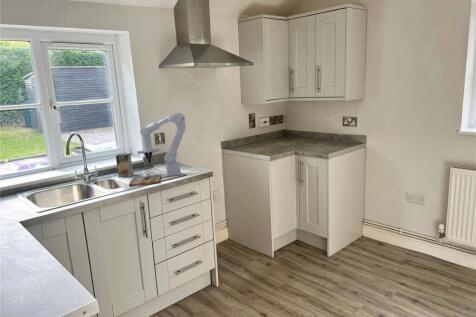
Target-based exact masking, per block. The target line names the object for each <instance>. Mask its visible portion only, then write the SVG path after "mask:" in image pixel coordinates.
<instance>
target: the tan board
mask: <svg viewBox="0 0 476 317" xmlns="http://www.w3.org/2000/svg"><path fill="white" fill-rule="evenodd" d="M149 176H150V178H149V179H147V180H143V179H144V175H138V176H133V177H132V179H131V180H130V181H129V183H128V187H129V186H130V187H137V186H136V185H139V186H145V185H146V186H147V185H155V184H159V183H160V181H161V177H162V174H161V173H159V174H158V173H157V174H149Z"/></svg>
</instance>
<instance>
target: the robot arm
mask: <svg viewBox="0 0 476 317" xmlns="http://www.w3.org/2000/svg"><path fill="white" fill-rule="evenodd" d="M185 120H186V117H185V116H184V114H183V113H181V112H176V113H174V114H172V115H171V114H170V115H168V116H166V117H164V118H162V119H161V120H159V121H151V123H150V124H146V125H145V126H143V127H142V128H141V129H140V130H139V133H140V135H141V138H142V145H143V149H142V150H138V151H137V155H142V154H144V156H145V158H146V159H147V161H148V164H151V163H152V162H151V161H152V156H153V153H160V150H159V148H153V144H152V139H151V138H152V137H151V134H152V133H154V132H155V131H157V130H159V129H160V127H162V126H163V125H165V124H168V123H173V124H174V125H175V126H176V127H177V129H176V131H175V135H174V136H173V139H172V142H171V145H170V148H169V149H168V150H167V153H166V154H165V156H164V157H163V160H164V162H165V166H166V168H165V169H166V177H173V176H179V175H180V176H181V172H182V171H181V167H180V166H181V165H180V161H177V160H176V159H177V154H178V149H179V146H180V143H181V141H182V138H183V136H184V133H185V131H186V130H187V129H186V127H187V126H186V121H185Z"/></svg>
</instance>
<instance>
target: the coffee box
mask: <svg viewBox="0 0 476 317" xmlns="http://www.w3.org/2000/svg"><path fill="white" fill-rule="evenodd" d="M115 160H116V161H115V162H116V166H117V174H118V178H129V177H128V176H131V177H132V176H133V175H134V169H133V163H132V155H131V153H118V154H117V155H115Z"/></svg>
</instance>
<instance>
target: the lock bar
mask: <svg viewBox="0 0 476 317" xmlns="http://www.w3.org/2000/svg"><path fill="white" fill-rule="evenodd" d="M149 175H150V172H149V171H145V172H144V174H143V176H144V179H147V178H148V176H149Z"/></svg>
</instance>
